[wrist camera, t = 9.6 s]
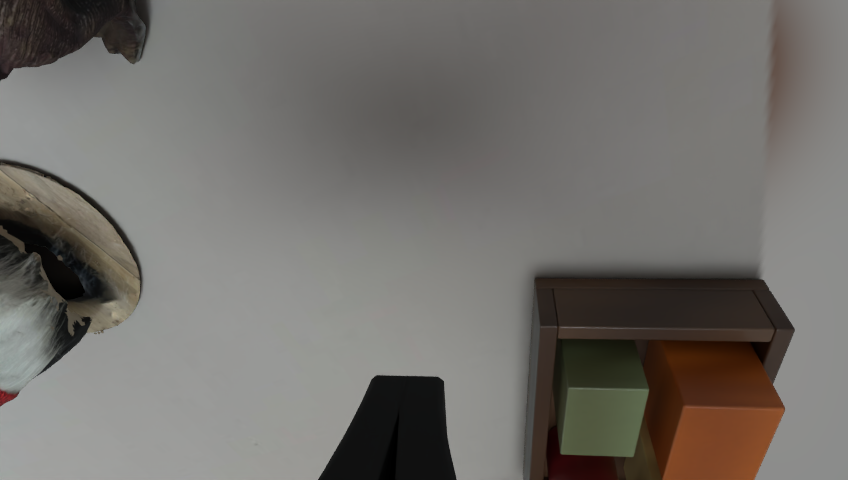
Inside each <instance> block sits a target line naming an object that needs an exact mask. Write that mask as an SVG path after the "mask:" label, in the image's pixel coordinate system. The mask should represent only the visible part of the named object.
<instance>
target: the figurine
mask: <svg viewBox="0 0 848 480" xmlns="http://www.w3.org/2000/svg"><path fill="white" fill-rule="evenodd" d="M0 164H1V165H0V406H2V405H3V404H4V403H6V402H8V401H10V400H13V399H14V398H15V397H17V395H18V394H19V391H20V390H21V389H22V388H23V387H24V386H26V384H27V383H28V382H29V381H30V380H31V379H33V378H34V377H36V376H38V375H39V374H41V373H42V372H44V371H46V370H47V369H48V368H49V367H51V366H52V365H53V364H54V363H56V362H57V361H59V360H60V359H61V358H62V357H63V356H64V355H65V354H66V353H67V352H69V351H70V350H71V349H72V348H73V347H74V346H75V345H76V344H78V343H79V342H80V340H81V339H82V337H83V336H84V335H85V334H86V333H90V332H97V331H101V333H103V330H104V329H109V328H112V327H114V326H118V325H119V324H120V323H122V322H123V321H124V320H126V319H127V318H128V317H129V316H130V315H131V314H132V312H133V311H134V309H135V307H136V305H137V303H138V301H139V295H140V284H141V282H140V279H139V278H140V276H139V271H138V268H137V265H136V263H135V262H134V260H133V258H134V257H132V255H131V253H130V251H129V249H128V248H127V247H126V245H125V244H124V243H123V241H122V239H121V237H120V236H119V235H118V234H117V232H116V230H115V229H114V228H113V226H112V225H111V224H110V223H109V222H108V221H107V220H106V219H105V218H104V217H103V215H101V214H100V213H99V212H98V211H97V210H96V209H95V208H94V207H92V206H91V205H90V204H89V203H88V202H87V201H85V200H84V199H83V198H82V197H81V196H80V195H78V194H76V193H75V192H73V191H72V190H70V189H69V188H65V187H63V186H62V185H61V184H58V182H57V181H56V180H54V179H52V178H51V176H49V177H46V178H44V174H41V173H40V172H37V171H35V170H31V169H28V168H21V167H20V166H15V165H11V164H4V163H0ZM35 173H36V174H35ZM37 174H38V175H37ZM39 175H41V176H39ZM66 189H67V190H66ZM24 243H28V244H35V245H38V246H44V247H47V248H48V249H49V250H50V251H52V252H53V253H54V254H55V255H56V256H57V258H58V260H61V261H63V262H64V264H65V266H66V267H70V268H71V270H72V271H73V272H74V273H76V274H77V275H78V276H79V279H80V282H81V283H82V285H83V287H84V290H85V291H86V292H85V293H83V295H84V296H82V297H79V298H76V299H70V300H65V299H63V298H62V297H61V296H60V295H59V294H58V293H57V292H56V291H55V290H54V289H53V287H52V286H51V284H50V282H49V280H48V278H47V276H46V274H45V271H44V269H43V267H42V263H41V256H40V255H39V254H37V253H35V252H33V253H32V254H29V253H26V252H25V251H24V250H25V246H24ZM94 334H97V333H94ZM98 334H100V332H98Z"/></svg>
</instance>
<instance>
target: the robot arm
mask: <svg viewBox="0 0 848 480" xmlns="http://www.w3.org/2000/svg"><path fill="white" fill-rule="evenodd" d="M318 480H457V479H456V475H455V471H454V467H453V462H452V458H451V454H450V449H449V444H448V438H447V427H446V410H445V393H444V381H443V380H442V379H440V378H439V377H425V376H383V375H377V376H375V377H374V378H373V379H372V380H371V382H370V384H369V387H368V389H367V391H366V394H365V396H364V398H363V400H362V402H361V404H360V406H359V408H358V410H357V412H356V414H355V416H354V418H353V420H352V422H351V424H350V426H349V428H348V429H347V431H346V433H345V435H344V437H343V439H342V440H341V442H340V444H339V445H338V447H337V449H336V451H335V452H334V454H333V456H332V457H331V459H330V461H329V463H328V464H327V466H326V468H325V469H324V471H323V473H322V474H321V476H320V477H319V479H318Z"/></svg>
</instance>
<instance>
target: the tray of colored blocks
mask: <svg viewBox="0 0 848 480" xmlns="http://www.w3.org/2000/svg"><path fill="white" fill-rule="evenodd" d="M794 331H795V329H794V327H793V326H792V324H791V322H790V321H789V319H788V318H787V316H786V315H785V313H784V311H783V310H782V308H781V307H780V305H779V304H778V302H777V301H776V299H775V298H774V296H773V294H772V293H771V291H769V288H768V286H767V285H766V283H765V282H764V280H752V279H559V278H536V279H535V280H534V296H533V313H532V330H531V346H530V363H529V380H528V397H527V414H526V430H525V447H524V464H523V480H754V479H755V477H756V475H757V472H758V470H759V468H760V466H761V463H762V461H763V459H764V457H765V454H766V452H767V450H768V448H769V445H770V443H771V441H772V438H773V436H774V434H775V432H776V429H777V427H778V425H779V423H780V420H781V418H782V416H783V414H784V411H785V407H784V405H783V403H782V401H781V399H780V397H779V396H778V394H777V392H776V390H775V388H774V386H773V383H774V380H775V378H776V375H777V373H778V370H779V368H780V365H781V363H782V360H783V358H784V356H785V353H786V351H787V348H788V346H789V343H790V341H791V338H792V336H793V333H794Z"/></svg>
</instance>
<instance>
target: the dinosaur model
mask: <svg viewBox="0 0 848 480" xmlns="http://www.w3.org/2000/svg"><path fill="white" fill-rule="evenodd" d="M145 31H146V26H145V24H144V23H143V22H142V20H141V19H140V18H139V17H138V15H137V10H136V6H135V2H134V0H0V80H2V79H5V78H7V77H8V75H9V74H10V72H11V71H12V70H13V68H22V67H39V66H41V65H46V64H51V63H53V62H55V61H57V59H59V58H61V57H64V56H65V55H67V54H70V53H73V52H75V51H77V50H78V49H80V48H81V47H82V46H83V45H85V44H86V43H87V42H88V41H89V40H90V39H91V38H93V37H102V40H103V42H104V45H105V47H106V48H107V50H108V52H109V53H112V54H119V53H121V54H122V55H123V56H124V57H125V58H126V59H127V60H128V61H129V62H130V63H132V64H135V63H136V62H138V61H139V60H140V55H141V51H142V47H143V43H144V38H145Z"/></svg>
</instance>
